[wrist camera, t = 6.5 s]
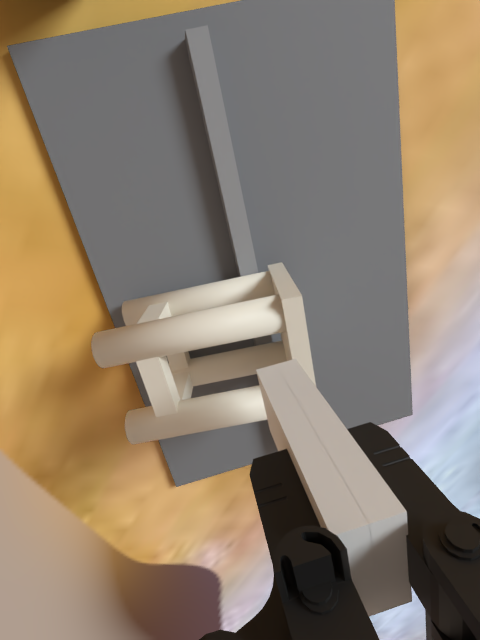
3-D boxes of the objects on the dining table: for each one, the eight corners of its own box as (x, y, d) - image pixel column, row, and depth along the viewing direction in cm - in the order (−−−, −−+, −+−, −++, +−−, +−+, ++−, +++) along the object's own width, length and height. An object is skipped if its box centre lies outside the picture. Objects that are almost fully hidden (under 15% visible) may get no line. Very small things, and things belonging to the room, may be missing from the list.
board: (409, 411, 26) (421, 422, 25) (176, 482, 25) (176, 498, 24) (388, -24, 17) (406, -43, 16) (11, 49, 15) (-5, 36, 14)
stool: (321, 420, 16) (133, 455, 16) (298, 357, 21) (158, 385, 22) (301, 295, 13) (85, 340, 14) (281, 262, 19) (127, 295, 20)
